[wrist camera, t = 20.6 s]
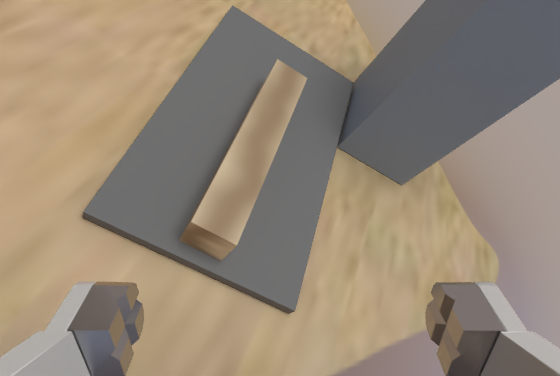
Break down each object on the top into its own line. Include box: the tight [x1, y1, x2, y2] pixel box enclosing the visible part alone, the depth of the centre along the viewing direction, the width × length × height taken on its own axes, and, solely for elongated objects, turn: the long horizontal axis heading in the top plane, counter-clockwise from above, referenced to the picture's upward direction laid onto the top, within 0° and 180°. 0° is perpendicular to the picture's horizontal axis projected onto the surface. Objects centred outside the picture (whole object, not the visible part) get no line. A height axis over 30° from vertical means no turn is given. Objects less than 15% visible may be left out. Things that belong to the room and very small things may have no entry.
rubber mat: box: [83, 5, 353, 313], centre depth 37 cm, size 17×30×1 cm, turn 162°
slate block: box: [337, 0, 560, 185], centre depth 37 cm, size 9×12×26 cm
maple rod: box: [179, 59, 307, 261], centre depth 33 cm, size 4×20×4 cm, turn 161°
